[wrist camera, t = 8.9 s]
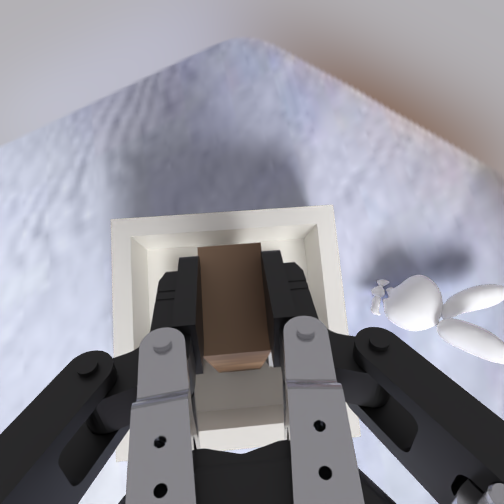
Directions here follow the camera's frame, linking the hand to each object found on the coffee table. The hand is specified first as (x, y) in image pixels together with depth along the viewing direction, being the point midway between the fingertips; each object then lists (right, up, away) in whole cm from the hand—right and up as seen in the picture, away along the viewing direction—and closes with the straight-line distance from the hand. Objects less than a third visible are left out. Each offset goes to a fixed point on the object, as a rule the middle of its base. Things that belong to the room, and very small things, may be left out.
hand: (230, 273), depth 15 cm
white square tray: (0, -4, +10) cm, 11 cm away
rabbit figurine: (+12, -3, +11) cm, 17 cm away
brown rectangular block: (0, -4, +9) cm, 10 cm away
